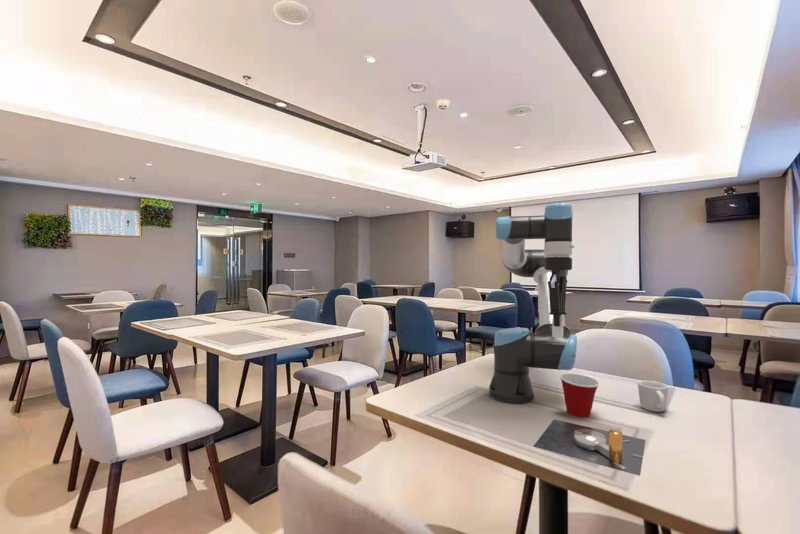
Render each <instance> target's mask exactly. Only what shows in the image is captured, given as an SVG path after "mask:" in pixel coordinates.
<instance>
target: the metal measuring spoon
mask: <svg viewBox="0 0 800 534" xmlns="http://www.w3.org/2000/svg"><path fill="white" fill-rule="evenodd" d="M608 432H609V446H608V445H606V437H605V436H604V435H603V434H601V433H599V432H597V431H593V430H588V429H578V430H576V431H574V442H575V443H576V444H577V445H578V446H580V447H582V448H585V449H589V450H597V451H599V452H600V453H602V454H603V455H605V456H607V457H608V458H609V459H610V460H611V461H613V462H617V463H620V462H622V435H623V432H622V431H620V430H618V429H609V430H608Z"/></svg>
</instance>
